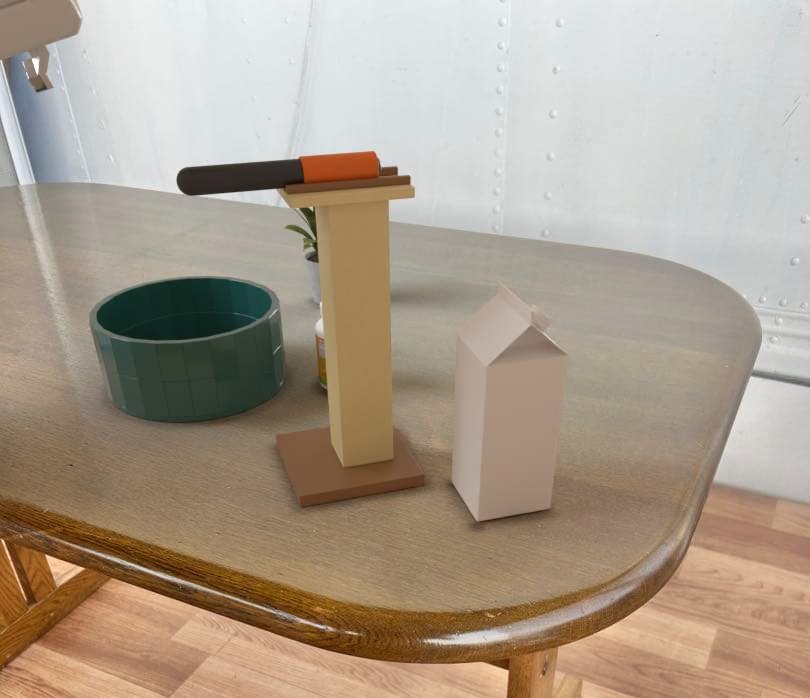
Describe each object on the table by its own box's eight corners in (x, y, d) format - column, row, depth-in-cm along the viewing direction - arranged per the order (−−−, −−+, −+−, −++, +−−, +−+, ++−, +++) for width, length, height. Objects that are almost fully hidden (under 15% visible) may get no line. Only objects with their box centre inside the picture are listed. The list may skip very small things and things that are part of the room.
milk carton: (476, 523, 72) (489, 316, 60) (450, 482, 77) (457, 285, 66) (550, 510, 73) (575, 306, 62) (520, 471, 79) (537, 276, 68)
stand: (300, 507, 74) (269, 201, 58) (276, 445, 83) (244, 166, 67) (424, 485, 77) (427, 187, 61) (388, 427, 86) (382, 156, 70)
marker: (180, 205, 61) (176, 177, 59) (176, 187, 62) (172, 159, 60) (383, 188, 65) (386, 161, 63) (376, 171, 66) (378, 144, 64)
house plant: (358, 326, 109) (353, 198, 99) (265, 314, 112) (251, 190, 103) (393, 291, 120) (392, 172, 110) (308, 281, 123) (299, 166, 114)
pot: (109, 434, 85) (89, 354, 80) (105, 358, 101) (88, 286, 96) (302, 406, 90) (295, 328, 85) (269, 337, 106) (261, 268, 101)
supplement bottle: (336, 369, 98) (331, 290, 92) (374, 379, 96) (371, 298, 90) (310, 386, 94) (303, 305, 88) (348, 397, 92) (344, 314, 86)
